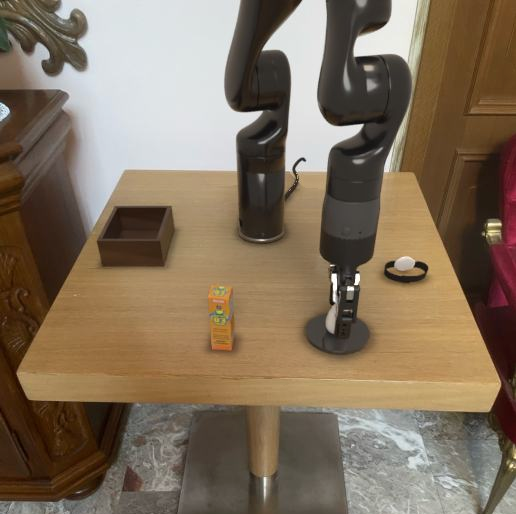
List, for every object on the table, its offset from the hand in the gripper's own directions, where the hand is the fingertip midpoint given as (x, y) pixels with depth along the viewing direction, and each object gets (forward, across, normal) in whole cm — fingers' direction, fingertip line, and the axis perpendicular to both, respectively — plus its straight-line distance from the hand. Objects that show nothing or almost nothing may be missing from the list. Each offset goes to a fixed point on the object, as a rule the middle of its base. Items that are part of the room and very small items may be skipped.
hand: (338, 320), depth 80 cm
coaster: (+3, 0, 0) cm, 3 cm away
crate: (+3, +28, +36) cm, 46 cm away
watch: (+3, +16, -14) cm, 22 cm away
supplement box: (+3, -3, +18) cm, 18 cm away
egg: (+2, 0, 0) cm, 2 cm away
